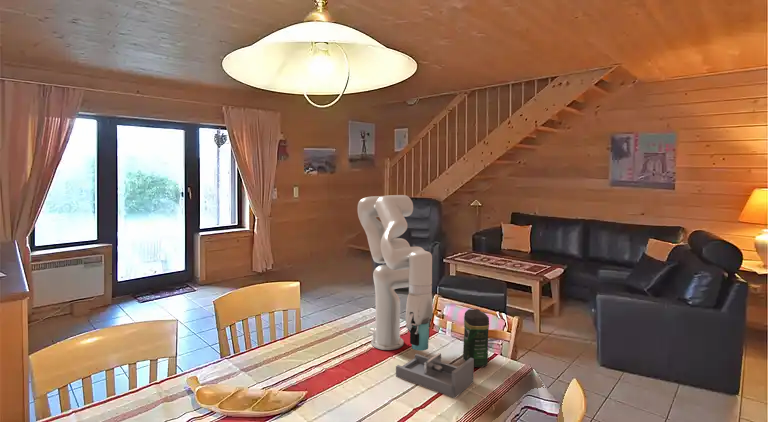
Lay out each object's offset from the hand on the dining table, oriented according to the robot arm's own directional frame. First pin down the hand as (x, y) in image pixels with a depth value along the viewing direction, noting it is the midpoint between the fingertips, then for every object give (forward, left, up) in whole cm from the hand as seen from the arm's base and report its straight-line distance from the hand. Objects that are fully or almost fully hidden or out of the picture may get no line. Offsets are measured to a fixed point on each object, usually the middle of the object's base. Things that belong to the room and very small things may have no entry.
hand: (419, 341), depth 147 cm
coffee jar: (+11, +20, -12) cm, 26 cm away
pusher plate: (+7, 0, -10) cm, 12 cm away
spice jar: (0, 0, -2) cm, 2 cm away
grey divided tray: (+6, 0, -12) cm, 13 cm away
